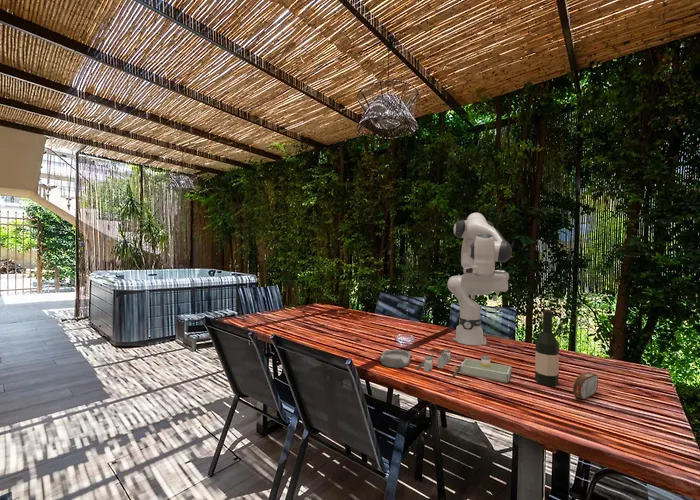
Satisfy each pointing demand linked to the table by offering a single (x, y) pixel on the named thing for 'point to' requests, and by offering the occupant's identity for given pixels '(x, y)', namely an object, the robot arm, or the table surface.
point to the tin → (585, 385)
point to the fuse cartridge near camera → (429, 361)
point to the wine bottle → (547, 354)
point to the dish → (395, 358)
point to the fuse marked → (485, 362)
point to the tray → (495, 372)
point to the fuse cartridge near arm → (447, 353)
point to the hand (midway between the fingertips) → (483, 299)
